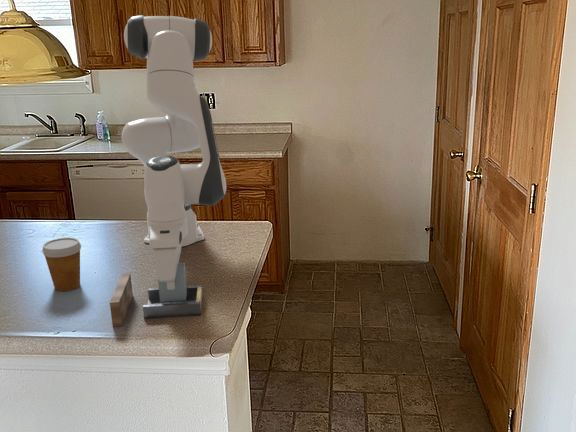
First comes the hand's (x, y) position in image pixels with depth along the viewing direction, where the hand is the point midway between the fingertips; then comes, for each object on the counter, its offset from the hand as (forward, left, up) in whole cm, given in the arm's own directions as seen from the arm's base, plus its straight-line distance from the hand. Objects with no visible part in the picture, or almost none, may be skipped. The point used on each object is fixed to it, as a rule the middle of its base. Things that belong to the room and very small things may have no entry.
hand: (172, 283), depth 136 cm
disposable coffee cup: (-16, -29, -6) cm, 34 cm away
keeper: (0, 0, -6) cm, 6 cm away
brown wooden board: (0, -12, -6) cm, 14 cm away
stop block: (0, 0, -4) cm, 4 cm away
